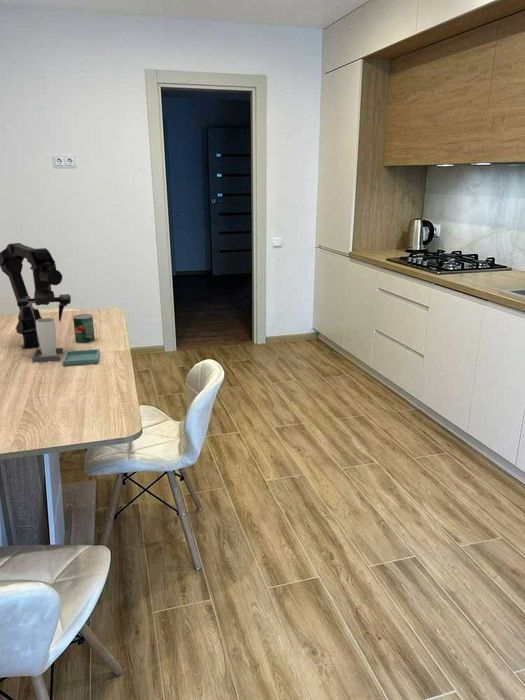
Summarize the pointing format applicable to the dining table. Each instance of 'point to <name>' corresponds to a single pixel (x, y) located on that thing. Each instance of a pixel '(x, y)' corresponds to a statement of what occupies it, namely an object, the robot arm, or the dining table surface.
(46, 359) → the dock
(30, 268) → the robot arm
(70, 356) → the tray
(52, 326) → the drinking glass
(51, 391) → the dining table surface
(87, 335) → the canned tomato
